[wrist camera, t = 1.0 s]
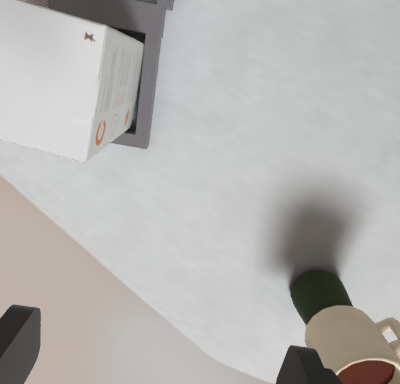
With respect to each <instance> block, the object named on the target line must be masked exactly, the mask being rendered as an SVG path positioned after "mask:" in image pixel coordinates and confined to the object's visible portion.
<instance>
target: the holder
mask: <svg viewBox="0 0 400 384" xmlns="http://www.w3.org/2000/svg"><path fill="white" fill-rule="evenodd" d="M173 3H174V0H157V4H152V3H147V2H142V1H137V0H49V9H52V10H56V11H59V12H63V13H66V14H69V15H73V16H76V17H80V18H83V19H86V20H90V21H93V22H97V23H101V24H105V25H107V26H109V27H111V28H115V29H120V30H126V31H131V32H136V33H141V34H146V35H145V45H144V55H143V65H142V74H141V84H140V94H139V104H138V114H137V124H136V132H135V131H129V130H126V131H125V132H124V133H123V134H121V135H120V136H119V137H117V138H116V139H115V140H113V141H112V142H111V143H115V144H121V145H127V146H132V147H138V148H144V149H147V147H148V146H149V139H150V130H151V122H152V113H153V105H154V96H155V88H156V79H157V71H158V62H159V54H160V45H161V37H162V38H163V29H164V21H165V12H166V9H167V10H172V11H173Z"/></svg>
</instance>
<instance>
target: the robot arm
mask: <svg viewBox="0 0 400 384" xmlns="http://www.w3.org/2000/svg"><path fill="white" fill-rule="evenodd" d="M40 320H41V313H40V309H39V308H35V307H27V306H21V305H12V306H11V307H9V309H8V310H7V311H6V312H5V314H4V315H3V316H2V317H1V318H0V384H24V382H25V381H26V379H27V377H28V375H29V374H30V372H31V370H32V368H33V366H34V364H35V362H36V359H37V357H38V353H39V350H40ZM276 384H343V383H342V381H341V380H340V379H339V378H338V377H337V375H336V374H335V373H334V372H333V370H332V369H328V368H324V366H323V364H322V361H321V359H320V357H319V354H318V352H317V351H316V350H315V349H314V348H307V347H300V346H293V345H291V346H290V347H289V348H288V351H287V353H286V356H285V359H284V361H283V364H282V366H281V369H280V372H279V374H278V377H277V381H276Z"/></svg>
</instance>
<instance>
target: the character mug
mask: <svg viewBox="0 0 400 384" xmlns="http://www.w3.org/2000/svg"><path fill="white" fill-rule="evenodd" d="M291 297H292V301H293V304H294V306H295V308H296V309H297V311H298V313H299V315H300V316H301V318H302V319H303V321H304V323H305V324H306V332H305V343H306V346H307V348H314V349H315V350H316V351H317V352H318V354H319V357H320V359H321V361H322V364H323V366H324V368H328V369H332V370H333V372H334V373H335V374H336V375H337V377H338V378H339V379H340V380H341V381H342V383H343V384H400V359H399V358H398V356H397V355H396V354H399V353H400V323H399V322H398V321H397V320H396V319H394V318H387V319H384V320H382V321H380V322H378V323H374V322H373V321H372V320H371V319H370V318H369V317H368V316H367V315H366V314H365V313H364V312H362V311H361V310H359V309H356V308H354V307H353V306H352V303H351V301H350V299H349V296H348V294H347V292H346V290H345V288H344V286H343V284H342V282H341V281H340V280H339V279H338V278H337V277H336V276H335V275H334V274H331V273H328V272H325V271H311V272H309V273H307V274H305V275H303V276H301V277H300V278H299V279H298V280H297V281H296V283H295V284H294V285H293V289H292V294H291ZM389 330H392V331H393V332H394V334H395V335H396V336H397V338H398V340H395V341H393V342H391V343H388V342H387V340H386V339H385V337H384V336H383V335H382V333H385V332H387V331H389Z"/></svg>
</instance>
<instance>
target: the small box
mask: <svg viewBox="0 0 400 384" xmlns="http://www.w3.org/2000/svg"><path fill="white" fill-rule="evenodd" d="M144 45H145V44H144V43H142V42H140V41H138V40H136V39H134V38H132V37H130V36H128V35H125V34H123V33H121V32H119V31H117V30H115V29H113V28H111V27H109V26H107V25H105V24H101V23H97V22H93V21H90V20H86V19H83V18H80V17H76V16H73V15H69V14H66V13H63V12H59V11H56V10H52V9H49V8H46V7H42V6H39V5H35V4H32V3H28V2H25V1H21V0H0V139H2V140H6V141H9V142H13V143H16V144H20V145H24V146H27V147H31V148H34V149H38V150H42V151H45V152H49V153H52V154H56V155H59V156H63V157H67V158H70V159H74V160H77V161H81V162H86V161H87V160H89V159H90V158H91V157H92V156H94V155H95V154H96V153H98V152H99V151H100V150H102V149H103V148H104V147H105V146H107V145H108V144H109V143H111V142H112V141H113V140H115V139H116V138H117V137H119V136H120V135H121V134H123V133H124V132H125V131H126V130H128V129H129V128H130V127H131V124H132V119H133V115H134V110H135V105H136V100H137V95H138V90H139V84H140V79H141V74H142V65H143V55H144Z"/></svg>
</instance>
